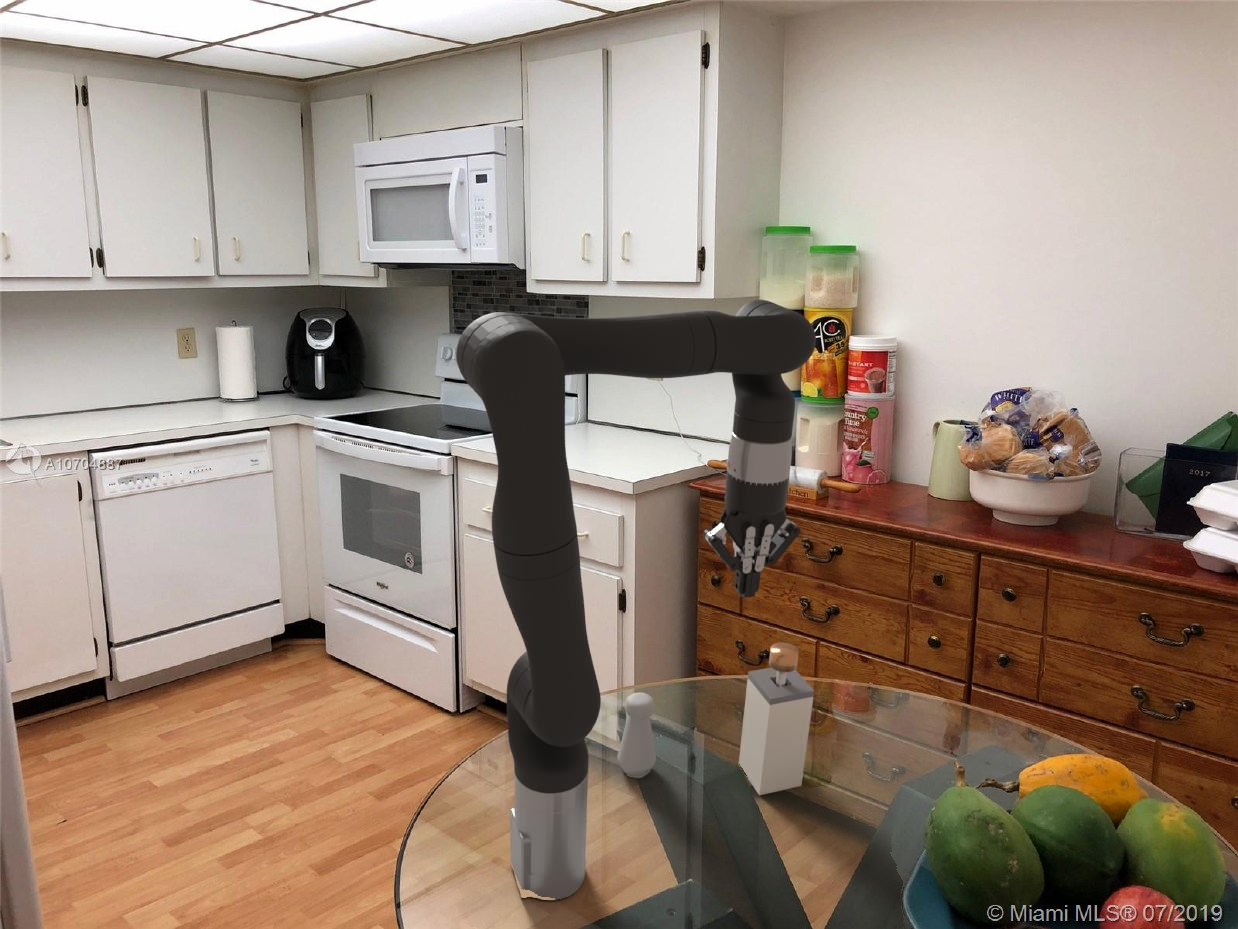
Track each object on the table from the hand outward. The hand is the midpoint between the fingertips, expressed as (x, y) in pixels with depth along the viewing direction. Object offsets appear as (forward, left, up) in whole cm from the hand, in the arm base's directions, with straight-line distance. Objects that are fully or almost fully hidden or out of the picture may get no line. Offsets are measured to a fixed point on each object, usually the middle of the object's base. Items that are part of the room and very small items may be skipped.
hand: (745, 594), depth 124 cm
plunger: (+11, +7, -32) cm, 35 cm away
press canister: (+11, +7, -37) cm, 39 cm away
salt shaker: (-8, +14, -37) cm, 41 cm away
